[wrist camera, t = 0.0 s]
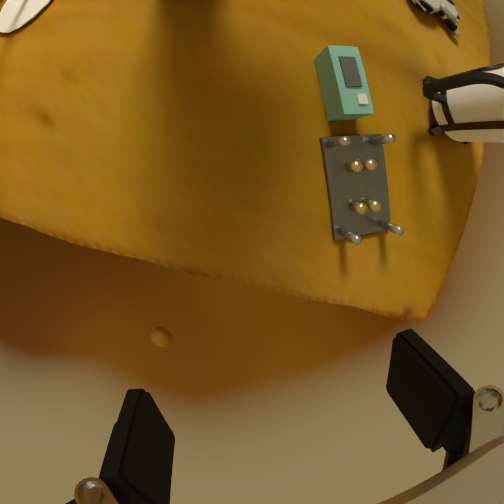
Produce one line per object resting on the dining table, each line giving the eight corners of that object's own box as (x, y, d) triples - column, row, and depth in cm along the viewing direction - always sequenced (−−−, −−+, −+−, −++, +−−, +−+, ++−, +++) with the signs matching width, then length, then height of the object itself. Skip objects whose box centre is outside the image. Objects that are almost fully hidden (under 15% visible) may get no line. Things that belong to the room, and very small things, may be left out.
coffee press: (437, 58, 33) (556, 26, 5) (477, 125, 38) (594, 130, 9) (392, 96, 35) (548, 59, 7) (439, 172, 40) (584, 199, 11)
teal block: (313, 60, 33) (328, 44, 27) (340, 60, 33) (358, 46, 27) (327, 121, 36) (345, 113, 30) (354, 119, 36) (375, 113, 30)
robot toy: (448, 7, 30) (399, -29, 27) (460, 3, 26) (410, -37, 22) (451, 42, 33) (399, 3, 30) (465, 38, 29) (413, -5, 25)
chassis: (319, 138, 37) (335, 133, 31) (378, 134, 37) (399, 131, 32) (333, 239, 41) (349, 249, 35) (387, 227, 42) (408, 236, 36)
